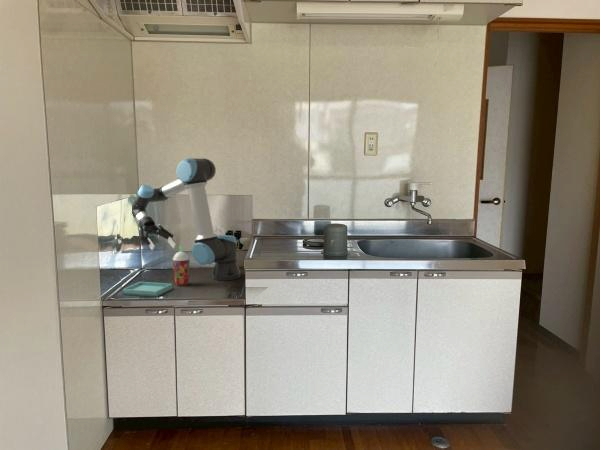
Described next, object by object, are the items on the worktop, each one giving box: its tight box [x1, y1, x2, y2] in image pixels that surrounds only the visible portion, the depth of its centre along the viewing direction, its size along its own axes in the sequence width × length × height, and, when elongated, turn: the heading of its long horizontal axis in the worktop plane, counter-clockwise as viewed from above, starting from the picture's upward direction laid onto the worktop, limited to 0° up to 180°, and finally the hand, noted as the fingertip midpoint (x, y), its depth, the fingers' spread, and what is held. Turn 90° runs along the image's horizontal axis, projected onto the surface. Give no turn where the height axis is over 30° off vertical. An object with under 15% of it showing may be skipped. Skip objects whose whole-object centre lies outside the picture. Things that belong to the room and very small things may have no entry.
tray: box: [122, 281, 173, 298], centre depth 222 cm, size 18×14×2 cm
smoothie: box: [172, 245, 190, 287], centre depth 232 cm, size 8×8×20 cm
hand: (164, 247), depth 242 cm, fingers open, 13 cm apart
